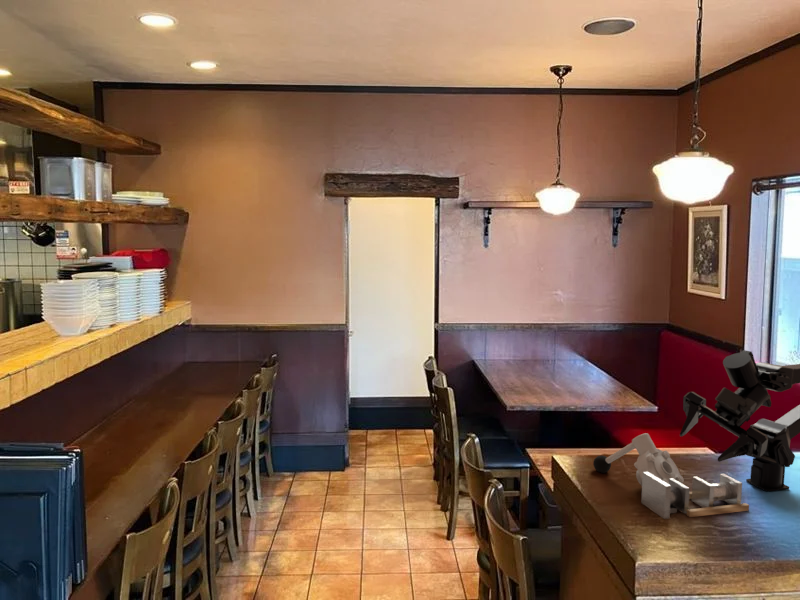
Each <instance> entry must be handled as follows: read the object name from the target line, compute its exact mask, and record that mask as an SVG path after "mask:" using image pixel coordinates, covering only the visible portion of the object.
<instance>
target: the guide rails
mask: <svg viewBox="0 0 800 600" xmlns="http://www.w3.org/2000/svg"><path fill="white" fill-rule="evenodd" d="M689 500H692V490H691V491H690V493H689ZM749 510H750V504H748V503H746V502H744V503H742V502H741V504H733V505H731V504H727V505H726V504H725V505H717V506H713V507H706V508H703V507H701V508H700V507H698V508H689V509H688V510H687V513H686V516H687V517H689V518H694V517H695V518H696V517H703V516H712V515H720V514H729V513H737V512H738V513H739V512H746V511H747V512H749Z"/></svg>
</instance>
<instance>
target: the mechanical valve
mask: <svg viewBox="0 0 800 600" xmlns="http://www.w3.org/2000/svg"><path fill="white" fill-rule="evenodd" d="M634 449H635V450H636V451H637V453H638V457H637V460H636V461H635V462H634V463H633V466H634V467H635V469H637V470H636V472H635V473H636V474H635V477H636V480H637V482H638V483H639V485H640V486H641V487H642V478H643V472H649V473H651V474H652V475H654V476H656V477H657V478H659V479H661V480H662V481H664V482H666V483H667V484H669V479H671V478H673V479H675V480H677V481H679V482H680V483H682V484H684V483H685V482H684V481H685V480H684V477H683V476H682V475H681V473H680V470H679V469H678V466H677V465H676V463H675V462H674V460H673V459H672V458H671V454H670V452H669V451H668V450H661V449H659V448H657V447H656V445H655V443H654V441H653V440H652V438H651V435H650V434H649V433H648V432H647V433H646V432H645V433H642V434H639V435H637V436H635V437H634V438H632V439H631V442H630V443H628V444H627V445H626V446H624V447H622V448H621V449H618V450H617V451H615V452H614V453H612V454H611V455H609V456H608V457H607V456H606V455H603V454H601V455H597V456H596V457H595V458H594V460H593V468H594V469H595V470H596V471H597V472H599V473H600V472H601V474H605V473H608V472H609V471H610V470H611V467H612V462H614V461H616V460H618V459H620V458H621V457H623V456H625V455H626V454H628V453H630V452H631V451H633V450H634Z"/></svg>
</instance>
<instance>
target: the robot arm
mask: <svg viewBox="0 0 800 600" xmlns="http://www.w3.org/2000/svg"><path fill="white" fill-rule="evenodd" d="M722 364H723V367H724V369H725V372H726V374H727V376H728V378H729V379H728V380H729V381H730V383H731V385H732V386H734V387H736V388H737V389H736V390H735V391H732V390H730V389H728V388H727V387H723V388H722V389H721V391H720V392H719V393H718V395H717V396H716V397H715V398H714V399H715V401H716V403H715V404H714V408H715V410H713V409H712V408H710V407H708V406H707V399H706V398H705V397H703V396H701V395H699V394H697V393H696V392H695V391H688V392H687V393H686V394H685V395H684V396H683V399H682V400H683V401H682V403H683V404H682V406H683V407H682V408H683V411H684V413H685V416H686V419H685V421H684V424H683V425H682V428H681V430H680V433H679V437H682V438H683V436H685V435H687V433H688V432H689V431H690V430H692V429H693V427H694V426H695V425H696V424H698V423H699V419H701V418H702V417H703V416H705V417H706V418H708V419H709V420H711V421H712V422H714V423H715V424H717V425H719V426H720V427H721V428H724V429H725V430H726V431H728V432H730V433H732V434H733V435H734V436H736V437H738V438H737V439H736V440H735V442H733V443H732V444H731V445H730V446H728V447H727V448H726V449H725V450H724V451H723V452H721V453H720V455H719V456H718V457H717V461H718V462H723V461H727V460H730V459H732V458H737V457H741V456H747V457H752V465H751V466H750V467H751V468H750V478H746V479H745V480H746V482H747V483H749V484H751V485H753V486H755V487H756V488H759V489H761V490H763V491H765V492H773V491H774V492H776V491H784V490H789V489H790V486H788V485H786V484H785V473H786V468H789V467H790V466H792V465H793V464H794V461H795V459H796V456H795V454H794V452H793V451H792V450H791V448H790V446H791V440H792V439H793V438H795V437H796V436H798V435H799V434H800V404H799V405H797V406H795V407H794V408H792V409H791V410H790V411H788V412H787V413H785V414H784V415H782V416H781V417H780V418H777V420H774V421H773V420H769V419H766V418H760V419H758V421H757V422H756V423H754V424H751V425H749V428H747V429H744V428H743V427H742V425H744V423H745V422H747V423H748V421H750V419H751V417H752V415H753V414H755V412H756V411H758V409H759V408H760V407H761V406H764V407H768V408H771V406H772V400H771V398H772V397H771V396H772V395H770V394H769V392H768V390H770V391H772V392H773V391H774V392H778V393H782V392H784V391H788V390H790V389H792V387H793V385H796V384H800V363H797V364H788V365H785V364H784V365H779V364H773V363H768V362H760V361H759V362H756V361H755V358H754V354H753V351H752V350H751V351H750V350H746V349H743V350H742V351H740V352H736V353H733V354H732V353H731V355H727V356H725V358H724V359H723V361H722Z"/></svg>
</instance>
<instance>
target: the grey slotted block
mask: <svg viewBox="0 0 800 600" xmlns="http://www.w3.org/2000/svg"><path fill="white" fill-rule="evenodd" d="M691 485H692V486H691V491H692V499H690V500H691V502H694V504H696V505H698V506H699V507H701V508H706V507H714V502H718V501H724V502H726V503H727V504H728V505H733V504H742V494H743V493H742V491H743V482H742V481H739V480H737V479H735V478H733V477H731V476H729V475H727V474H725V473H719V482H715V483H709V482H708V481H706V480H705V479H703V478H700V477H698V476H696V475H695V476H692V484H691Z"/></svg>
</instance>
